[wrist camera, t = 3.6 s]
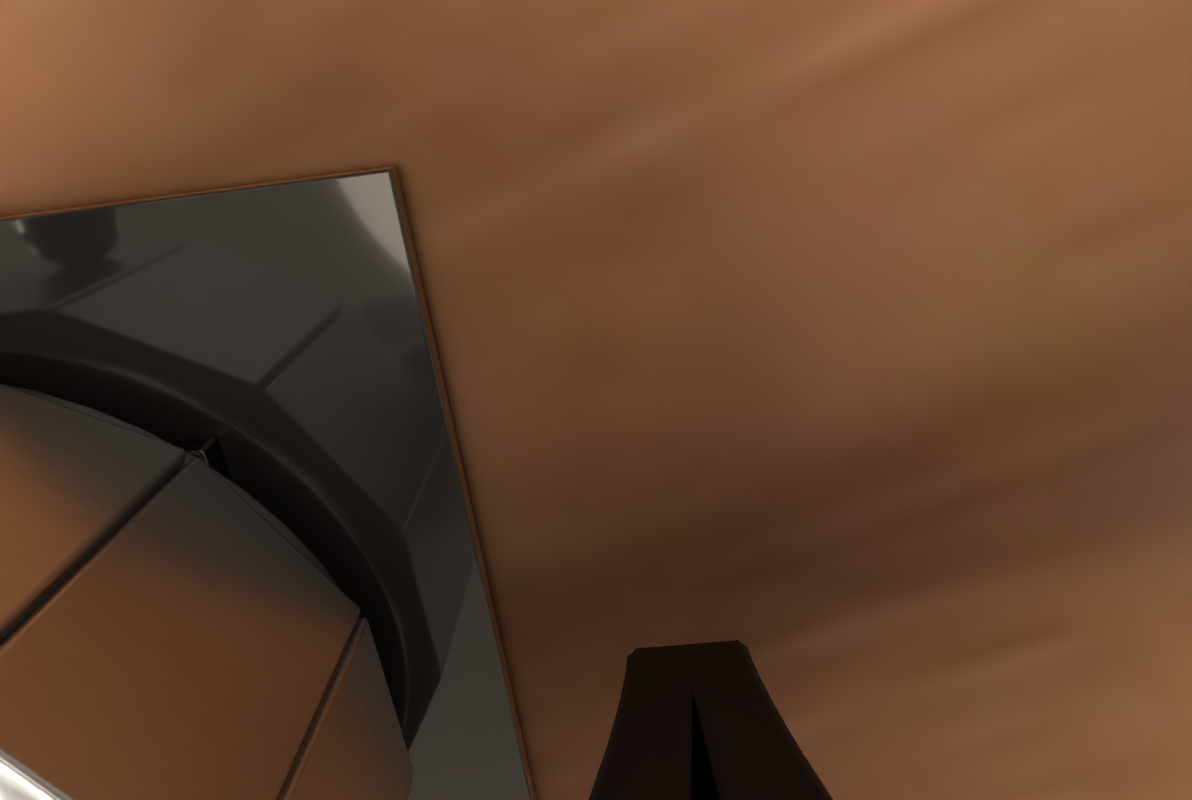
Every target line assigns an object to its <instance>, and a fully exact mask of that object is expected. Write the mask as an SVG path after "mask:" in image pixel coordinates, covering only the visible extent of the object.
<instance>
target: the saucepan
mask: <svg viewBox="0 0 1192 800" xmlns="http://www.w3.org/2000/svg"><path fill="white" fill-rule="evenodd" d="M360 612H361V611H360V608H359V606H358V605H357V604H355V603H354V602H353V601H352V600H351V599H350V598H349V597H348V596H347V595H346V594H345V593H344V592H343V591H342V589H341V588H340V587H339V585H338V584H337V583H336V581H335V580H334V579H333V577H332V576H331V575H330V573H329V572H328V571H327V569H326V568H325V567H324V565H323V564H322V563H321V561H320V560H319V559H318V558H317V557H316V556H315V555H314V554H313V553H312V552H311V551H310V550H309V549H308V547H307V546H306V545H305V544H304V543H303V542H302V541H301V540H300V539H299V538H298V537H297V536H296V535H295V534H294V533H293V532H292V531H291V530H290V529H289V528H288V526H287V525H286V524H285V523H283V522H282V521H281V520H280V519H279V518H278V517H276V516H275V515H274V514H273V513H272V512H270V511H269V510H268V509H267V508H266V507H264V506H263V505H262V504H261V503H260V502H258V501H257V500H256V499H255V498H254V497H253V496H251V495H250V494H249V493H248V492H247V491H245V490H244V489H243V488H241V487H240V486H238V485H237V484H235V483H234V482H232V480H231V478H230V475H229V472H228V469H227V466H226V464H225V461H224V458H223V455H222V453H221V450H220V447H219V444H218V441H217V439H216V438H206V439H196V440H187V441H177V442H167V441H165V440H164V439H162V438H160V437H158V436H156V435H154V434H152V433H150V432H149V431H147V430H145V429H142V428H140V427H137V426H135V425H133V424H130V423H128V422H125V421H123V420H120V419H118V418H116V417H113V416H111V415H108V414H106V413H104V412H101V411H99V410H96V409H94V408H92V407H88V406H85V405H82V404H78V403H75V402H72V401H68V400H65V399H62V398H58V397H55V396H52V395H48V394H45V393H42V392H38V391H35V390H30V389H25V388H20V387H14V386H9V385H4V384H0V800H408V798H409V794H410V790H411V787H412V783H413V779H412V774H413V767H412V764H411V761H410V758H409V754H408V751H407V748H406V744H405V741H404V738H403V735H402V731H401V728H400V725H399V721H398V718H397V715H396V711H395V708H394V705H393V702H392V698H391V695H390V692H389V688H388V685H387V682H386V679H385V675H384V672H383V669H382V665H381V662H380V659H379V656H378V652H377V649H376V646H375V642H374V639H373V636H372V633H371V629H370V626H369V623H368V620H367V619H366V618H359V617H358V616H359V614H360Z"/></svg>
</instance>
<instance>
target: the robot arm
mask: <svg viewBox="0 0 1192 800" xmlns="http://www.w3.org/2000/svg"><path fill="white" fill-rule="evenodd" d="M589 800H833V799H832V797H831V796H830V794H829V793H828V791H827V790H826V788H825V787H824V785H823V784H822V782H821V781H820V779H819V777H818V776H817V774H816V773H815V771H814V770H813V768H812V767H811V765H810V764H809V762H808V761H807V759H806V757H805V756H804V754H803V753H802V751H801V750H800V748H799V746H798V745H797V743H796V741H795V740H794V738H793V736H792V735H791V733H790V731H789V730H788V728H787V726H786V724H785V723H784V721H783V719H782V717H781V716H780V714H779V712H778V710H777V709H776V707H775V705H774V703H773V701H772V700H771V698H770V696H769V694H768V692H767V690H766V688H765V686H764V684H763V682H762V680H761V678H760V676H759V674H758V672H757V670H756V667H755V665H754V663H753V661H752V658H751V656H750V653H749V650H748V648H747V647H746V646H745V645H744V644H742V643H741V642H740V641H738V640H734V641H721V642H709V643H697V644H685V645H673V646H660V647H648V648H636V649H635V650H634V651H633V652H632V653H631V654H630V655H629V656H628V657H627V665H626V673H625V678H624V684H623V689H622V693H621V698H620V702H619V706H618V710H617V713H616V717H615V721H614V724H613V727H612V731H611V734H610V738H609V741H608V745H607V748H606V751H605V753H604V756H603V759H602V762H601V765H600V768H599V771H598V774H597V777H596V780H595V783H594V785H593V788H592V791H591V794H590V797H589Z"/></svg>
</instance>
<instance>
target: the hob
mask: <svg viewBox="0 0 1192 800" xmlns="http://www.w3.org/2000/svg"><path fill="white" fill-rule="evenodd" d="M0 384H4V385H9V386H14V387H20V388H25V389H30V390H35V391H38V392H42V393H45V394H48V395H52V396H55V397H58V398H62V399H65V400H68V401H72V402H75V403H78V404H82V405H85V406H88V407H92V408H94V409H96V410H99V411H101V412H104V413H106V414H108V415H111V416H113V417H116V418H118V419H120V420H123V421H125V422H128V423H130V424H133V425H135V426H137V427H140V428H142V429H145V430H147V431H149V432H150V433H152V434H154V435H156V436H158V437H160V438H162V439H164V440H165V441H167V442H177V441H187V440H196V439H206V438H216V439H217V441H218V444H219V447H220V450H221V453H222V455H223V458H224V461H225V464H226V466H227V469H228V472H229V475H230V478H231V480H232V482H234V483H235V484H237V485H238V486H240V487H241V488H243V489H244V490H245V491H247V492H248V493H249V494H250V495H251V496H253V497H254V498H255V499H256V500H257V501H258V502H260V503H261V504H262V505H263V506H264V507H266V508H267V509H268V510H269V511H270V512H272V513H273V514H274V515H275V516H276V517H278V518H279V519H280V520H281V521H282V522H283V523H285V524H286V525H287V526H288V528H289V529H290V530H291V531H292V532H293V533H294V534H295V535H296V536H297V537H298V538H299V539H300V540H301V541H302V542H303V543H304V544H305V545H306V546H307V547H308V549H309V550H310V551H311V552H312V553H313V554H314V555H315V556H316V557H317V558H318V559H319V560H320V561H321V563H322V564H323V565H324V567H325V568H326V569H327V571H328V572H329V573H330V575H331V576H332V577H333V579H334V580H335V581H336V583H337V584H338V585H339V587H340V588H341V589H342V591H343V592H344V593H345V594H346V595H347V596H348V597H349V598H350V599H351V600H352V601H353V602H354V603H355V604H357V605H358V606H359V608H360V611H361V612H360V614H359V616H358V617H359V618H366V619H367V620H368V623H369V626H370V629H371V633H372V636H373V639H374V642H375V646H376V649H377V652H378V656H379V659H380V662H381V665H382V669H383V672H384V675H385V679H386V682H387V685H388V688H389V692H390V695H391V698H392V702H393V705H394V708H395V711H396V715H397V718H398V721H399V725H400V728H401V731H402V735H403V738H404V741H405V744H406V748H407V751H408V754H409V758H410V761H411V764H412V767H413V774H412V779H413V783H412V787H411V790H410V794H409V798H408V800H536V796H535V792H534V787H533V783H532V778H531V773H530V769H529V764H528V760H527V755H526V751H525V746H524V742H523V737H522V733H521V728H520V724H519V719H518V715H517V710H516V706H515V701H514V697H513V692H512V688H511V683H510V679H509V674H508V669H507V665H506V660H505V656H504V651H503V647H502V642H501V638H500V633H499V629H498V624H497V620H496V615H495V611H494V606H493V602H492V597H491V593H490V588H489V584H488V579H487V575H486V570H485V565H484V561H483V556H482V552H481V547H480V543H479V538H478V534H477V529H476V525H475V520H474V516H473V511H472V507H471V502H470V498H469V493H468V489H467V484H466V480H465V475H464V471H463V466H462V461H461V457H460V452H459V448H458V443H457V439H456V434H455V430H454V425H453V421H452V416H451V412H450V407H449V403H448V398H447V394H446V389H445V385H444V380H443V376H442V371H441V367H440V362H439V357H438V353H437V348H436V344H435V339H434V335H433V330H432V326H431V321H430V317H429V312H428V308H427V303H426V299H425V294H424V290H423V285H422V281H421V276H420V272H419V267H418V263H417V258H416V253H415V249H414V244H413V240H412V235H411V231H410V226H409V222H408V217H407V213H406V208H405V204H404V199H403V195H402V190H401V186H400V181H399V177H398V172H397V169H396V167H394V166H389V167H382V168H374V169H366V170H358V171H351V172H343V173H335V174H327V175H320V176H312V177H304V178H296V179H289V180H281V181H273V182H265V183H258V184H250V185H242V186H235V187H227V188H219V189H211V190H204V191H196V192H188V193H180V194H173V195H165V196H157V197H149V198H142V199H134V200H126V201H118V202H111V203H103V204H95V205H87V206H80V207H72V208H64V209H56V210H49V211H41V212H33V213H25V214H18V215H10V216H2V217H0Z"/></svg>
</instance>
